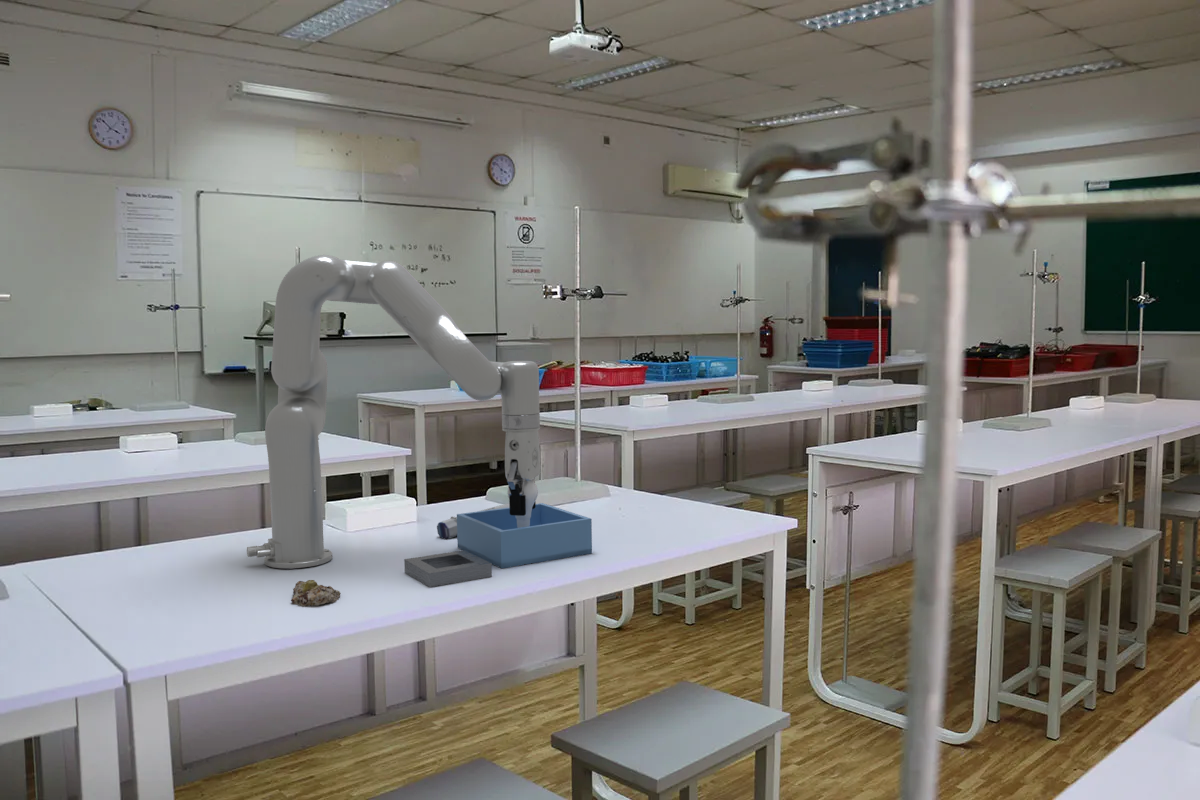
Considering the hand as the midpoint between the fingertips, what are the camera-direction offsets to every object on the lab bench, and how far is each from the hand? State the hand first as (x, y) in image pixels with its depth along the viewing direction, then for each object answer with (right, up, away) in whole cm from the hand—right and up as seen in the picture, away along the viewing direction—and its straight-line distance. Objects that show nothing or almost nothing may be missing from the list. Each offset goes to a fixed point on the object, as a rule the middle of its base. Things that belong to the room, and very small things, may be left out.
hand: (522, 510), depth 192 cm
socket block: (-12, -10, -17) cm, 23 cm away
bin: (0, -8, +1) cm, 8 cm away
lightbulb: (0, -4, 0) cm, 4 cm away
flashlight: (-9, -7, +21) cm, 24 cm away
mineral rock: (-33, -12, -31) cm, 46 cm away
